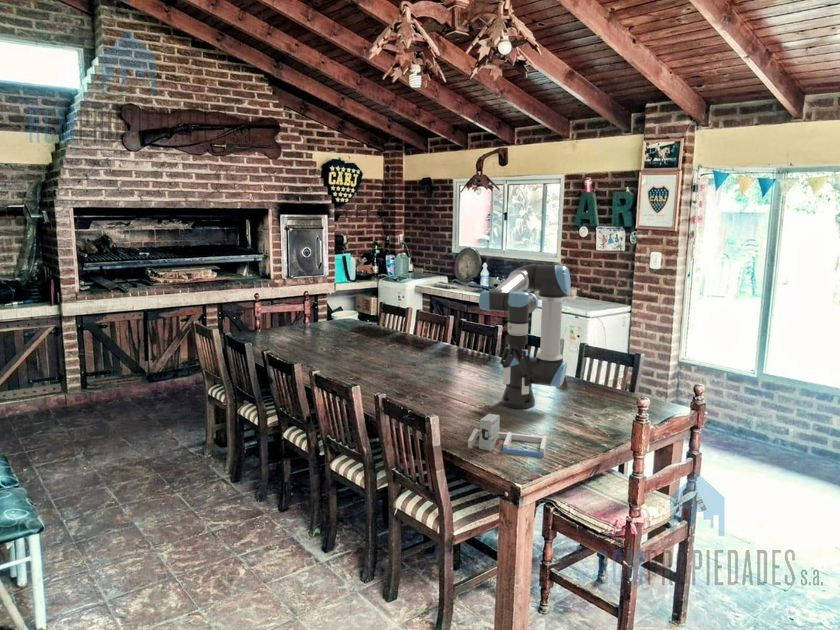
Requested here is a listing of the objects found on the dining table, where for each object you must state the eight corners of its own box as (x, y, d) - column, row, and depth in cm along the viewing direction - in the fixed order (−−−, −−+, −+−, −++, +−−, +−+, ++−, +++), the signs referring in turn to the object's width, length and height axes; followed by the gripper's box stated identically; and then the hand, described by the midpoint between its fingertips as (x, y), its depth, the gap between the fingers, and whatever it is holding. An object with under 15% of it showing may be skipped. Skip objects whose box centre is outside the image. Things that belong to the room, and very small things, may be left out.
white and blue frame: (475, 434, 258) (475, 427, 258) (546, 441, 251) (547, 434, 250) (467, 448, 244) (467, 441, 243) (543, 457, 236) (543, 449, 236)
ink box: (488, 441, 251) (488, 412, 249) (499, 443, 249) (500, 414, 246) (478, 448, 244) (479, 419, 242) (490, 451, 241) (491, 421, 239)
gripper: (492, 327, 247) (490, 380, 251) (526, 341, 224) (524, 399, 228) (509, 326, 250) (507, 379, 254) (545, 339, 227) (542, 397, 231)
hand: (515, 388), depth 241 cm, fingers open, 13 cm apart
